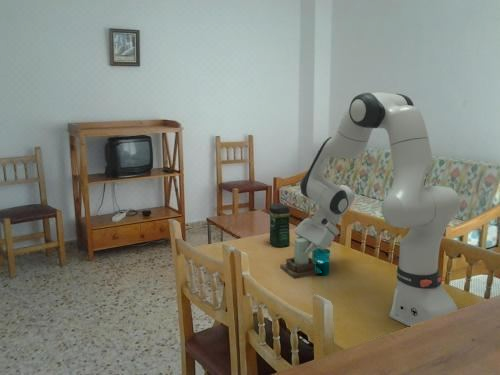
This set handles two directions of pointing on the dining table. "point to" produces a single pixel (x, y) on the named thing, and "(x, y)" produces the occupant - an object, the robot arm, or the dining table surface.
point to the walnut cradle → (299, 268)
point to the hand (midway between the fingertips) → (299, 250)
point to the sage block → (300, 251)
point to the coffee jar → (279, 225)
